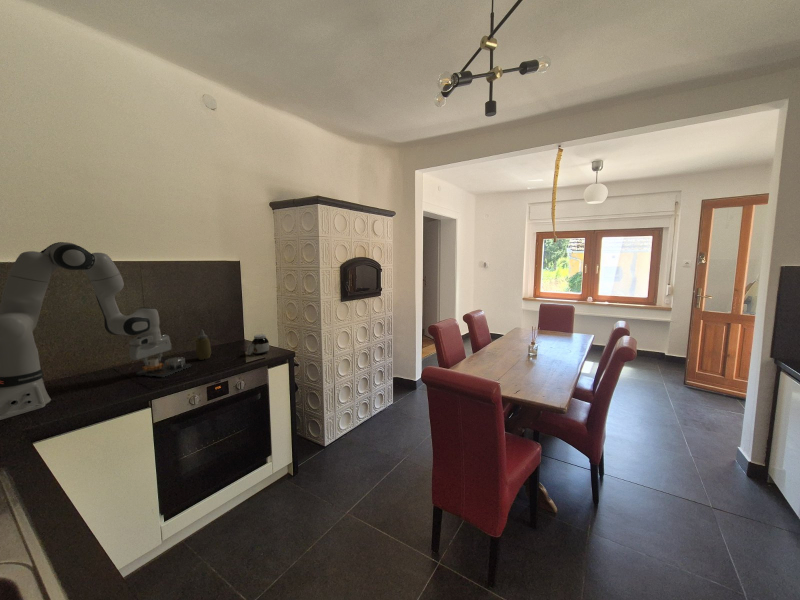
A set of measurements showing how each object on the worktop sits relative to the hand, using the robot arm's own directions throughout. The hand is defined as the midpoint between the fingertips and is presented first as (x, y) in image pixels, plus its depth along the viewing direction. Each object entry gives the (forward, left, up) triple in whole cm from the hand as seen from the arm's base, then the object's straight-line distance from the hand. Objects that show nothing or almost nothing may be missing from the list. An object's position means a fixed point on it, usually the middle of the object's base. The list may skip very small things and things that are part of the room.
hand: (153, 363), depth 171 cm
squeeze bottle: (+27, -6, -5) cm, 28 cm away
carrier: (+4, -3, -5) cm, 7 cm away
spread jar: (+43, -31, -5) cm, 53 cm away
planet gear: (0, 0, -3) cm, 3 cm away
